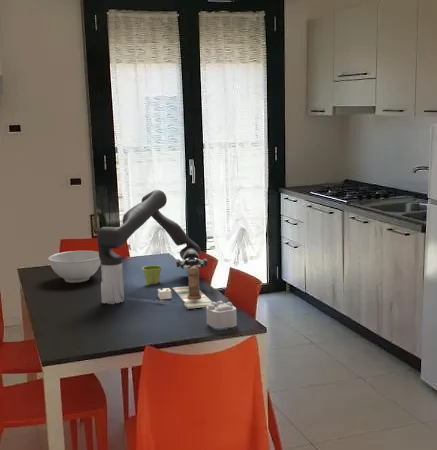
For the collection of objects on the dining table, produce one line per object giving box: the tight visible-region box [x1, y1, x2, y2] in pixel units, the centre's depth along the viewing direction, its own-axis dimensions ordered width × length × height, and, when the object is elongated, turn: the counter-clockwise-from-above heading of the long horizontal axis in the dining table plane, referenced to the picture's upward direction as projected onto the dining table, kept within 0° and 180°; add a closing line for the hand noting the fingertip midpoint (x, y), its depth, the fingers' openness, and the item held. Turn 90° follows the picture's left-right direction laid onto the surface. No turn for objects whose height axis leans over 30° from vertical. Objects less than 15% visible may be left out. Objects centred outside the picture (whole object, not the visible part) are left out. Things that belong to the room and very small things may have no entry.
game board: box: [172, 285, 213, 309], centre depth 288 cm, size 32×12×2 cm, turn 16°
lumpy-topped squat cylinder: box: [205, 300, 238, 328], centre depth 251 cm, size 10×13×9 cm
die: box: [157, 287, 172, 303], centre depth 286 cm, size 5×5×6 cm
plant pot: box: [141, 265, 162, 286], centre depth 312 cm, size 9×9×9 cm
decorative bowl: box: [47, 250, 101, 284], centre depth 326 cm, size 27×27×12 cm
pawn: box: [187, 266, 202, 301], centre depth 283 cm, size 6×6×14 cm
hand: (192, 266), depth 292 cm, fingers open, 8 cm apart
